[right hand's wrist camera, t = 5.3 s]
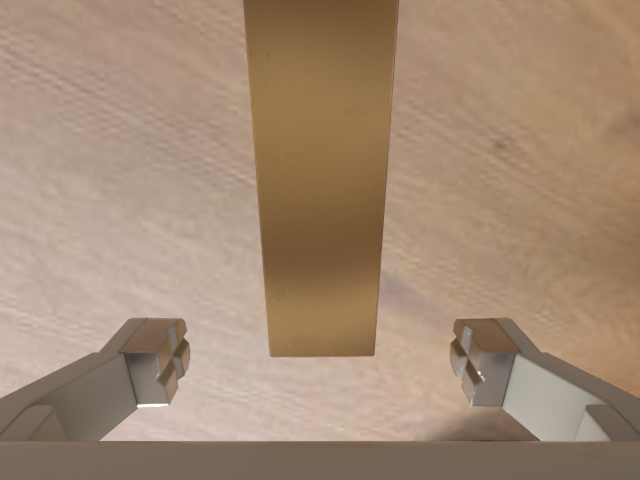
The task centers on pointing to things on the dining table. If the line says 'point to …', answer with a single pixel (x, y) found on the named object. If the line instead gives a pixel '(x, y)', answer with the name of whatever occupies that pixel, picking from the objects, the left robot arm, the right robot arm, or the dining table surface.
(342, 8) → the bar
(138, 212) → the dining table surface
